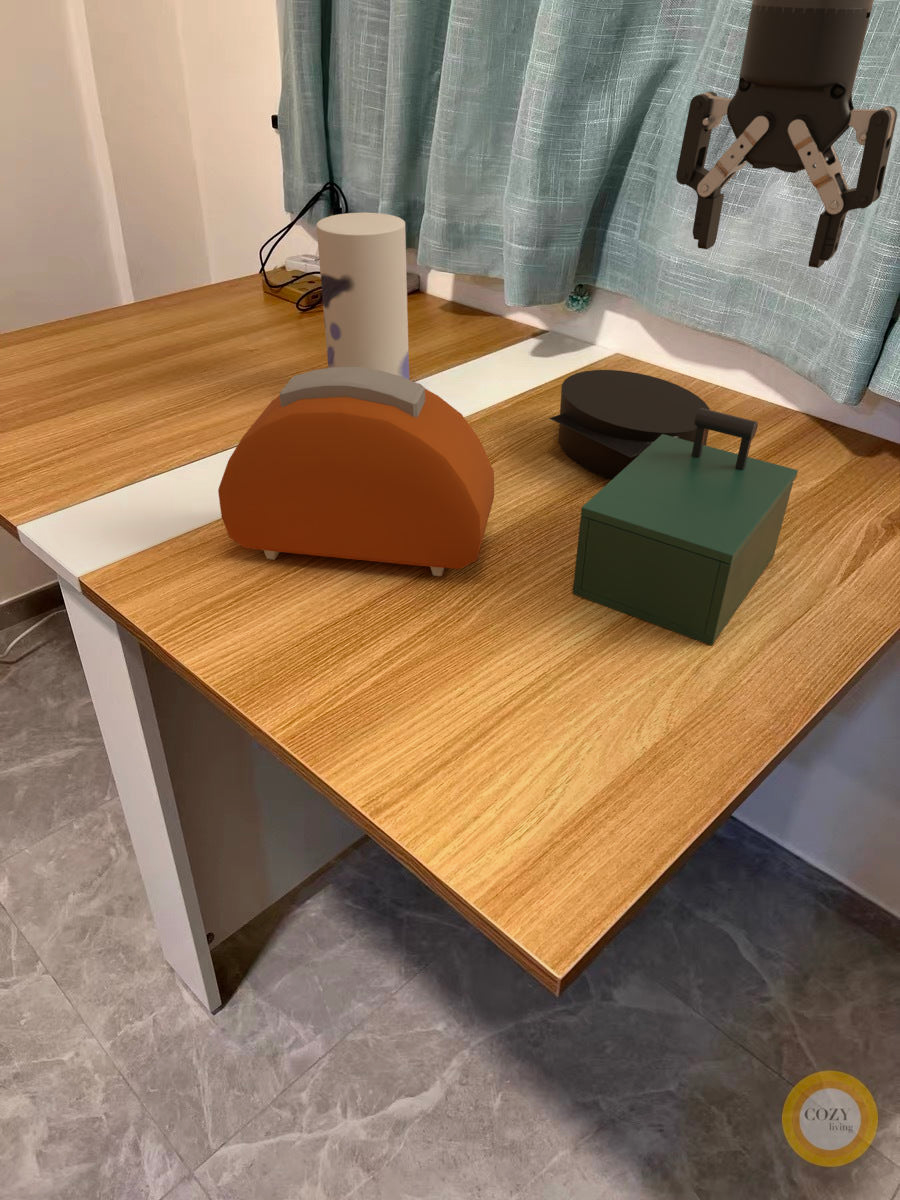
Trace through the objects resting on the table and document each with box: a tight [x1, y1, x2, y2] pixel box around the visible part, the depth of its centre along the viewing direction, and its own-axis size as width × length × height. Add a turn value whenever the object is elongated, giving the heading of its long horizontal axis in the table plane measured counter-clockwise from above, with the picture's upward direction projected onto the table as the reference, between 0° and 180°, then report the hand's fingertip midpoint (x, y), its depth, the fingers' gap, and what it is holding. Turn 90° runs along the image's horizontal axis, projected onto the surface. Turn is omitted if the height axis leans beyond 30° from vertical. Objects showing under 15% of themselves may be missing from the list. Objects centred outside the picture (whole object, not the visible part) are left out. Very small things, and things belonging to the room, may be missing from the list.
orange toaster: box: [217, 367, 495, 577], centre depth 78 cm, size 23×9×17 cm, turn 80°
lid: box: [580, 408, 799, 564], centre depth 73 cm, size 16×13×5 cm
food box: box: [572, 482, 794, 646], centre depth 77 cm, size 16×13×8 cm
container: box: [316, 212, 410, 380], centre depth 106 cm, size 10×10×20 cm
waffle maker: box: [548, 369, 711, 481], centre depth 96 cm, size 14×18×8 cm
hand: (760, 255), depth 68 cm, fingers open, 8 cm apart
